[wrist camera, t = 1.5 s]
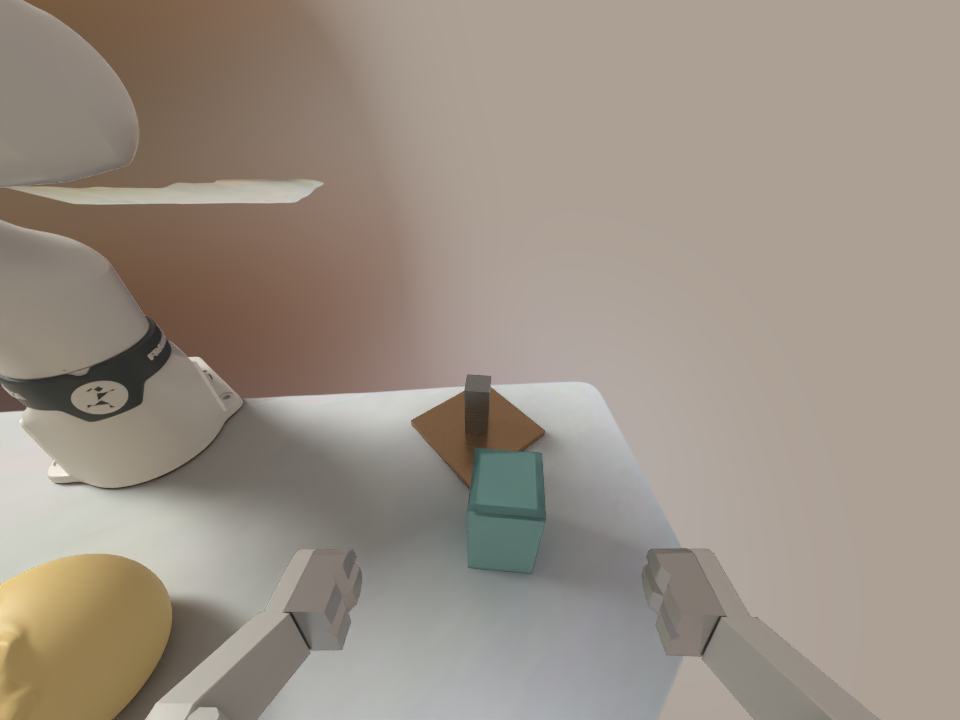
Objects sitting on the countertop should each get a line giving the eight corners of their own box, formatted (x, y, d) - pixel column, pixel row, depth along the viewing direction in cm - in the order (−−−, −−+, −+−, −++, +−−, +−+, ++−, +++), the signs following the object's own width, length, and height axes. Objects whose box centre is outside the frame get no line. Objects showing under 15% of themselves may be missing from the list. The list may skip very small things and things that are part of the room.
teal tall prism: (468, 567, 33) (467, 510, 27) (474, 507, 37) (474, 447, 31) (531, 573, 33) (546, 517, 26) (529, 512, 37) (541, 452, 31)
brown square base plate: (393, 483, 39) (382, 436, 34) (425, 381, 53) (420, 336, 48) (548, 496, 39) (560, 450, 34) (540, 389, 52) (548, 344, 47)
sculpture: (-55, 730, 24) (-256, 700, 18) (140, 561, 33) (55, 497, 26) (27, 852, 21) (-187, 873, 14) (223, 626, 29) (149, 571, 22)
